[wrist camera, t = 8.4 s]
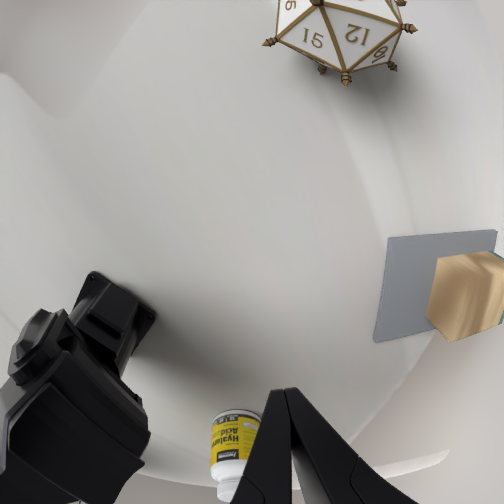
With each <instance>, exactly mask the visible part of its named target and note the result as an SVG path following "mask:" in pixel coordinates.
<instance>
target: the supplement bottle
mask: <svg viewBox="0 0 504 504" xmlns="http://www.w3.org/2000/svg"><path fill="white" fill-rule="evenodd" d="M260 422H261V420H260V418H259V417H258V416H257V415H256V414H254V413H251V412H248V411H244V410H230V411H226V412H223V413H221V414H219V415H217V416H216V417H215V419H214V420H213V426H212V445H211V466H210V470H211V476H212V477H213V479H214V480H216V481H217V482H219V484H218V485H217V486H218V487H217V497H218V498H219V499H220V500H222V501H225V502H231V500H232V498H233V496H234V493H235V491H236V489H237V486H238V484H239V481H240V479H241V476H243V475H242V474H243V471H244V468H245V465H246V463H247V460H248V457H249V454H250V451H251V448H252V445H253V443H254V440H255V437H256V434H257V431H258V428H259V425H260Z"/></svg>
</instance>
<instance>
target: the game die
mask: <svg viewBox="0 0 504 504" xmlns="http://www.w3.org/2000/svg"><path fill="white" fill-rule="evenodd" d="M406 3H407V2H406V1H404V0H397V1H395V0H279V1H278V12H277V24H276V35H275V37H274V38H270V39H266V41H265V42H264V43H263V45H262V46H270V47H271V46H272V45H275V43H276V42H280V43H282V44H284V45H286V46H288V47H290V48H292V49H294V50H295V51H297V52H299V53H301V54H303V55H305V56H307V57H308V58H310V59H312V60H314V61H315V62H317V63H319V64H321V65H320V66H319V68H318V70H319V72H320V75H321V74H323V73H325V71H326V68H327V67H328V68H330V69H333V70H336V71H338V72H341V73H343V75H342V77H341V79H342V80H341V83H343V84H344V85H345V87H346V88H347V86H348V85H349V84H350V83H351V82H352V81H351V77H350V75H349V73H352V72H355V71H359V70H362V69H366V68H370V67H373V66H377V65H381V64H385V63H386V64H388V68H390V70H393V71H397V65H395V64H394V62H391V61H390V60H391V57H392V55H393V53H394V50H395V48H396V45H397V43H398V40H399V38H400V35H401V33H402V30H405V31H406V32H407V33H408V32H410V33H411V34H412V33H413V32H416V31H418V30H417V29H416V28H415V27H414V26H413V24H403V22H402V19H401V15H400V12H399V8H398V6H405V5H406Z"/></svg>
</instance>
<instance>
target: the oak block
mask: <svg viewBox="0 0 504 504" xmlns="http://www.w3.org/2000/svg"><path fill="white" fill-rule="evenodd" d="M425 316H426V318H427V319H428V320H429V321H430V322H431V323H432V324H433V325H434V326H435V327H436V328H437V330H438V331H439V332H440V333H441V334H442V335H443V336H444V337H445V339H446V340H447V341H448V342H449V343H451V342H455V341H457V340H460V339H463V338H466V337H468V336H471V335H473V334H476V333H479V332H481V331H484V330H486V329H489V328H491V327H494V326H496V325H499V324H501V323H502V321H503V318H504V258H502V257H501V256H499V255H497V254H496V253H494V252H492V251H491V250H489V251H483V252H476V253H470V254H463V255H456V256H448V257H441V258H438V260H437V266H436V271H435V276H434V281H433V285H432V290H431V294H430V298H429V302H428V306H427V310H426V314H425Z"/></svg>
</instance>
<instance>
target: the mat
mask: <svg viewBox="0 0 504 504" xmlns="http://www.w3.org/2000/svg"><path fill="white" fill-rule="evenodd" d="M496 237H497V231H496V230H494V229H493V230H480V231H467V232H454V233H441V234H429V235H416V236H403V237H391V238H388V247H387V256H386V265H385V273H384V280H383V287H382V293H381V299H380V305H379V311H378V317H377V322H376V327H375V332H374V337H373V340H374V342H375V343H379V342H383V341H388V340H392V339H397V338H401V337H405V336H409V335H413V334H417V333H421V332H424V331H428V330H432V329H435V328H436V327H435V326H434V325H433V324H432V323H431V322H430V321H429V320H428V319H427V318H426V316H425V314H426V310H427V306H428V302H429V298H430V294H431V290H432V285H433V281H434V276H435V271H436V266H437V260H438V258H441V257H448V256H456V255H463V254H470V253H476V252H483V251H489V250H491V251H492V252H494V247H495V242H496Z"/></svg>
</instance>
